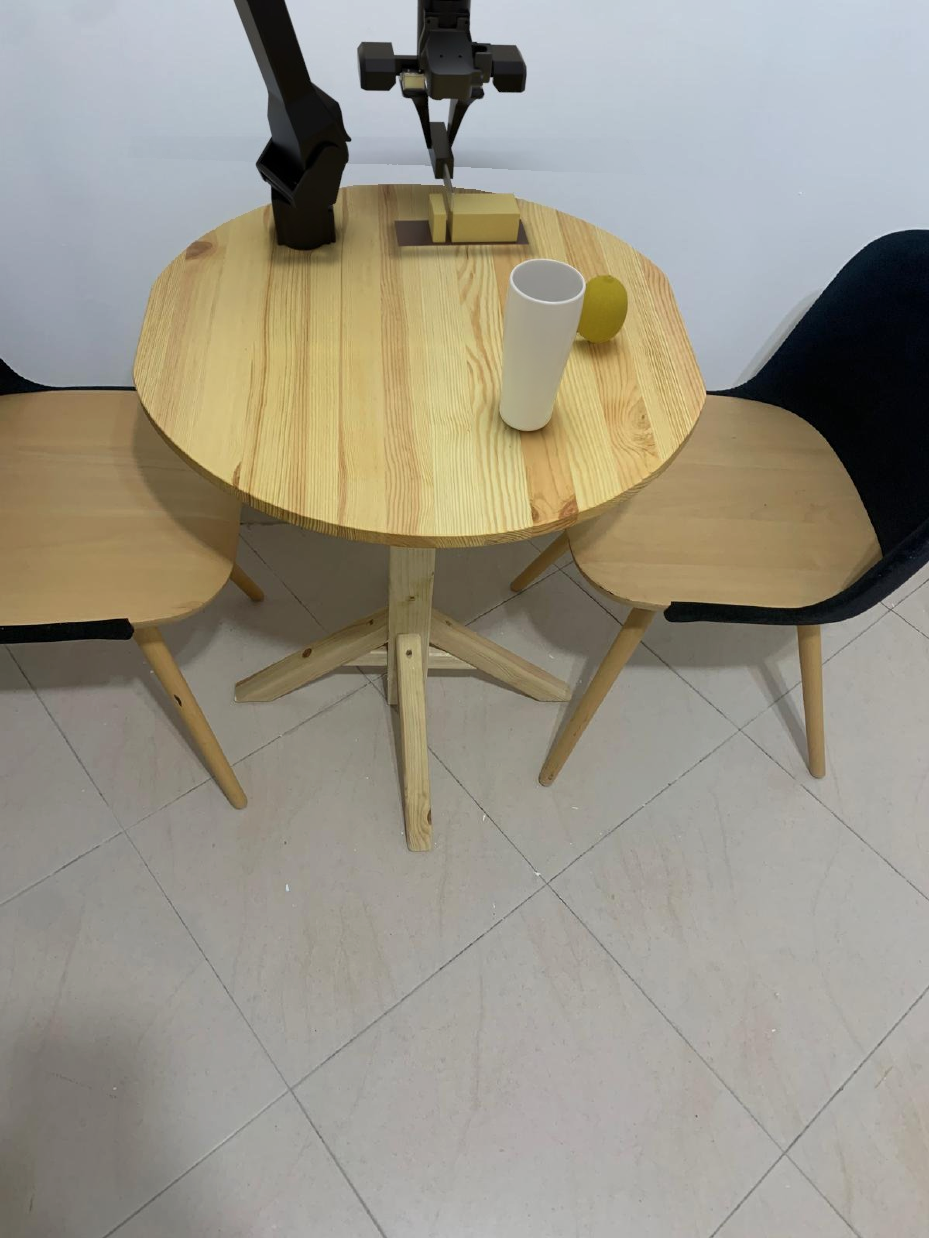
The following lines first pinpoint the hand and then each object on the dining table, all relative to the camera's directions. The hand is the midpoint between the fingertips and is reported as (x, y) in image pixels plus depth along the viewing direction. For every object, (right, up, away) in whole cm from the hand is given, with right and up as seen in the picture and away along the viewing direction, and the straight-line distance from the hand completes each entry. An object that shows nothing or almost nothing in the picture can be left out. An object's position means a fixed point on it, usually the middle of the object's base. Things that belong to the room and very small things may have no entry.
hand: (438, 147), depth 94 cm
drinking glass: (+9, -37, -16) cm, 41 cm away
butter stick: (+5, -10, 0) cm, 11 cm away
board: (+3, -11, +1) cm, 11 cm away
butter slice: (0, -11, 0) cm, 11 cm away
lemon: (+17, -27, -8) cm, 33 cm away
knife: (+1, -4, -2) cm, 5 cm away
